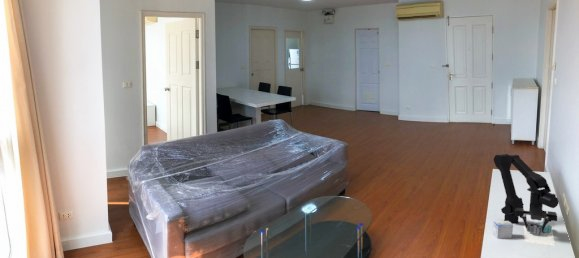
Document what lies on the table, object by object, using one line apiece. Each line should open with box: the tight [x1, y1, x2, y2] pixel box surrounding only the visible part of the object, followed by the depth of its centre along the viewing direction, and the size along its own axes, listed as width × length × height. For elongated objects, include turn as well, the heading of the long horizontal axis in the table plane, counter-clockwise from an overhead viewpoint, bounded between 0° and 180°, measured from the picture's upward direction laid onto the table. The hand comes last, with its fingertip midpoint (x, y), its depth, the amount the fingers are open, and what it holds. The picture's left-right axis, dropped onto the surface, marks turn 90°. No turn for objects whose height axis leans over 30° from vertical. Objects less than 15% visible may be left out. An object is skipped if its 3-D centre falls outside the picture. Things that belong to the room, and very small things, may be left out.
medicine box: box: [492, 220, 514, 239], centre depth 221 cm, size 8×4×9 cm, turn 92°
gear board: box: [523, 222, 556, 247], centre depth 220 cm, size 13×20×6 cm, turn 153°
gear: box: [527, 222, 542, 234], centre depth 223 cm, size 7×7×3 cm
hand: (534, 229), depth 223 cm, fingers closed on gear, 7 cm apart
